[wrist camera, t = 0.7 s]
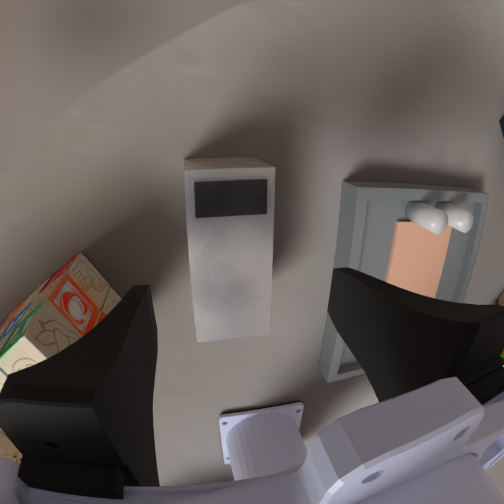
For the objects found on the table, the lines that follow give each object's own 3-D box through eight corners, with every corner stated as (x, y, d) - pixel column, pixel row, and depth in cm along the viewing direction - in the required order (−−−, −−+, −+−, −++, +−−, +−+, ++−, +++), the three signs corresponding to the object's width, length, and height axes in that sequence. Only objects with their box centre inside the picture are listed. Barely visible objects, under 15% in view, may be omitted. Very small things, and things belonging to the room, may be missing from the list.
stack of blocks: (81, 246, 18) (-3, 386, 7) (141, 315, 21) (126, 475, 10) (-41, 366, 19) (-85, 457, 8) (3, 407, 22) (-27, 501, 10)
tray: (434, 337, 29) (457, 360, 25) (318, 368, 26) (336, 401, 22) (473, 188, 23) (507, 201, 19) (342, 180, 20) (377, 195, 16)
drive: (250, 290, 22) (270, 336, 17) (192, 296, 21) (197, 344, 16) (251, 156, 18) (276, 167, 14) (183, 159, 18) (184, 171, 13)
